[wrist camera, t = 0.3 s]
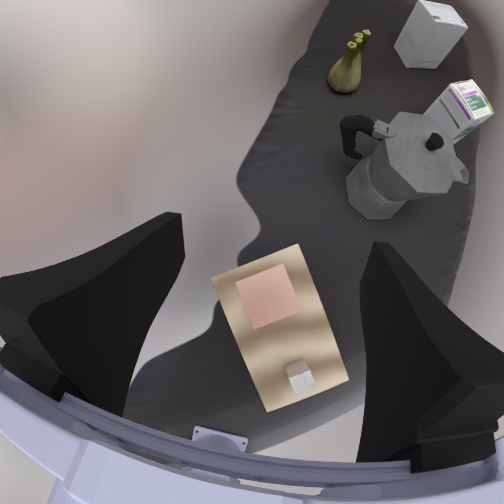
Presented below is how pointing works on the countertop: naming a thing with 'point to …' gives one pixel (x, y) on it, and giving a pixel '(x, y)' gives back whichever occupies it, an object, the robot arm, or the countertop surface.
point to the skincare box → (429, 35)
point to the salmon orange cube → (268, 296)
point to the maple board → (283, 332)
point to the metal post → (300, 377)
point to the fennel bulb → (349, 65)
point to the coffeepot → (399, 163)
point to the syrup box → (460, 109)
